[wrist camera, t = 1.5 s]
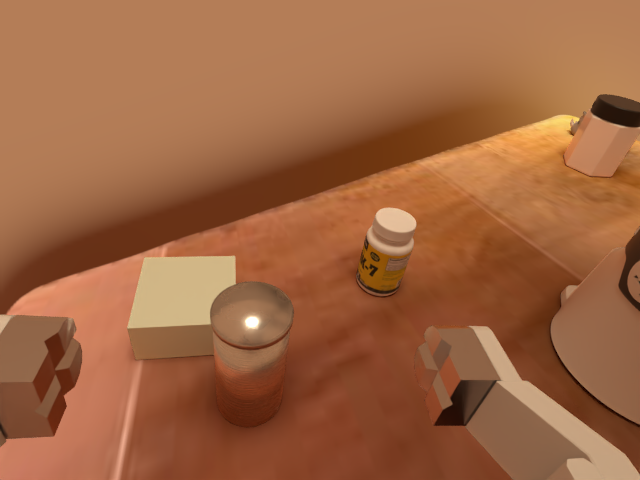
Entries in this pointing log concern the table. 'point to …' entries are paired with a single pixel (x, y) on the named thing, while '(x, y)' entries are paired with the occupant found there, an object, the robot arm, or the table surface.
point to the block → (177, 305)
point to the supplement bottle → (386, 252)
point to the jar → (604, 136)
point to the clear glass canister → (250, 350)
